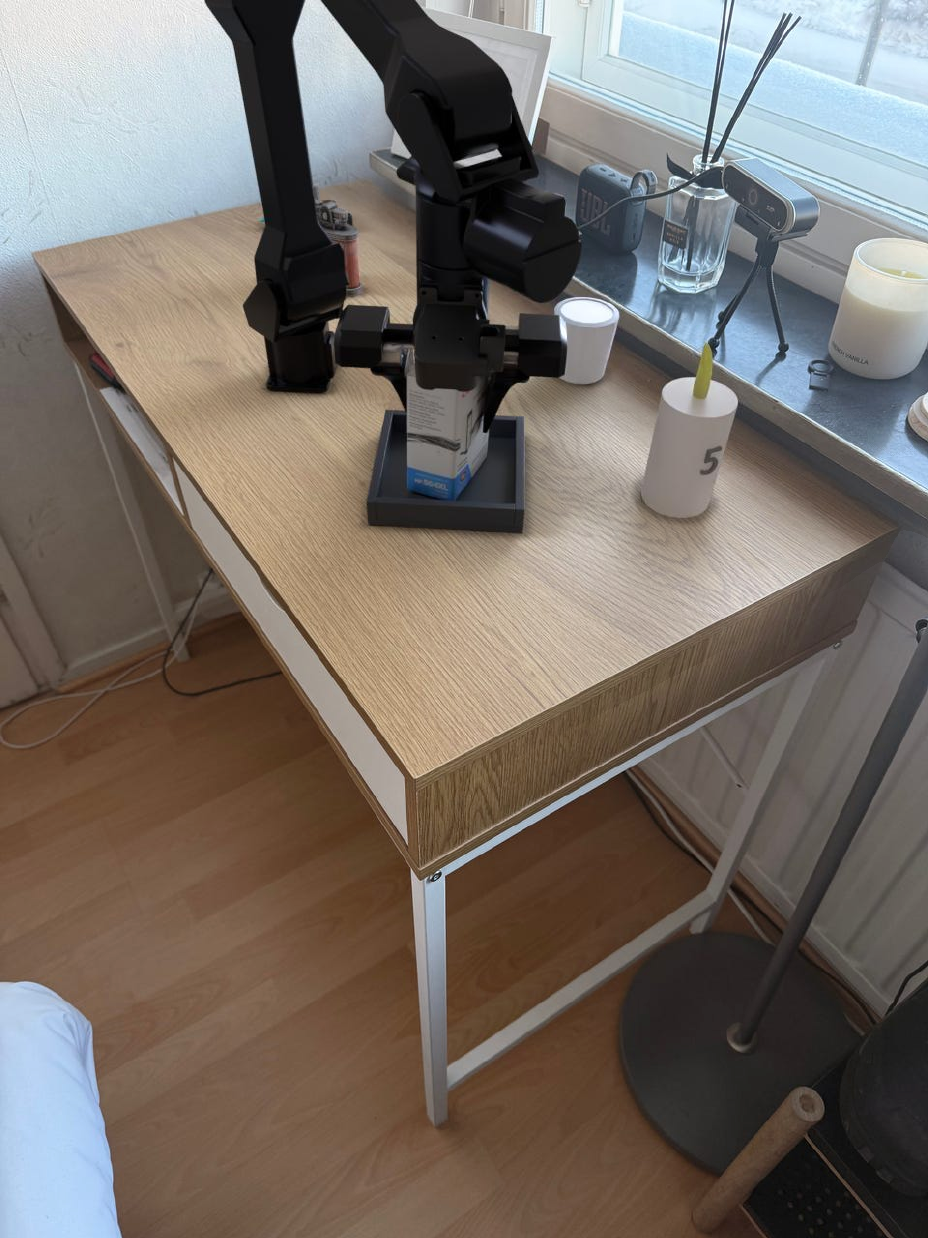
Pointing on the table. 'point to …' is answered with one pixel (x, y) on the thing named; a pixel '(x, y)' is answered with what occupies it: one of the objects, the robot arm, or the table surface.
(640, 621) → the table surface
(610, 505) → the table surface
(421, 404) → the ink box
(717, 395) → the candle
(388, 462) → the tray
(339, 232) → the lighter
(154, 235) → the table surface
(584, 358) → the white cylinder
